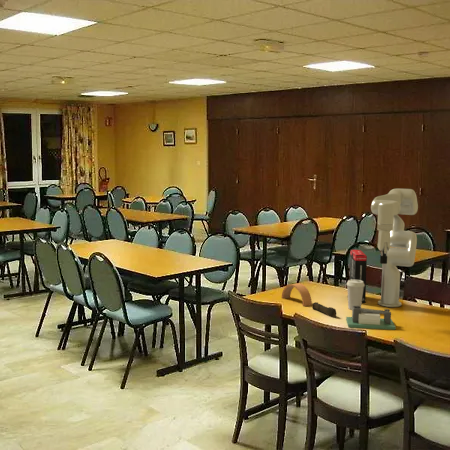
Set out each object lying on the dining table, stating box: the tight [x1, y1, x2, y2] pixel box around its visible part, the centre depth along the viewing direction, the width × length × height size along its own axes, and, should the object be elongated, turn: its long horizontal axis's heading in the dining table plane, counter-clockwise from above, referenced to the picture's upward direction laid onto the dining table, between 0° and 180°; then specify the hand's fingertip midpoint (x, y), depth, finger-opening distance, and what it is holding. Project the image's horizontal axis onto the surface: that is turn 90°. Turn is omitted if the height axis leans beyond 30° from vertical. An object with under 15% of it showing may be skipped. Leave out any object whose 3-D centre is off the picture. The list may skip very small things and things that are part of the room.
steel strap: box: [357, 305, 388, 315], centre depth 295 cm, size 3×16×2 cm, turn 83°
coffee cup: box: [346, 279, 365, 311], centre depth 324 cm, size 10×10×15 cm
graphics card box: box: [349, 249, 368, 304], centre depth 343 cm, size 17×7×27 cm, turn 179°
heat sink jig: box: [345, 306, 397, 331], centre depth 296 cm, size 13×22×8 cm, turn 83°
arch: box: [281, 282, 313, 307], centre depth 337 cm, size 6×20×10 cm, turn 31°
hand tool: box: [311, 302, 337, 318], centre depth 315 cm, size 19×4×5 cm, turn 23°
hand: (383, 263), depth 304 cm, fingers closed
